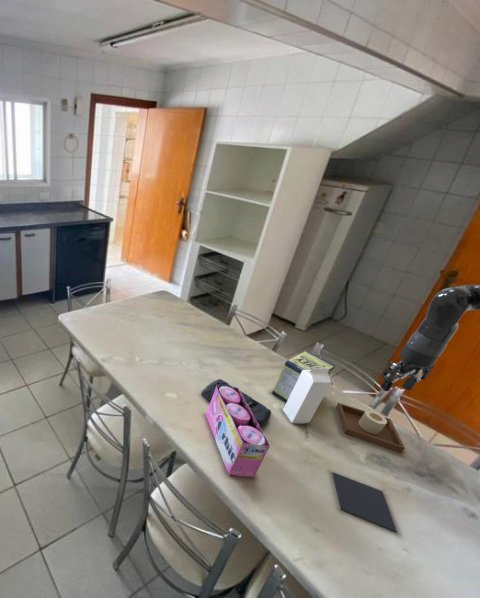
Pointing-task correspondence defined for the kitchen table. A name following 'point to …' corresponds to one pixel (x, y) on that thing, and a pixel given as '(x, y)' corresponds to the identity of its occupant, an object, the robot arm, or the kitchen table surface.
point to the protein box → (297, 372)
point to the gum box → (236, 432)
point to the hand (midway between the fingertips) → (395, 388)
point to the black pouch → (259, 411)
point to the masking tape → (372, 422)
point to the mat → (363, 501)
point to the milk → (307, 395)
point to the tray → (351, 427)
